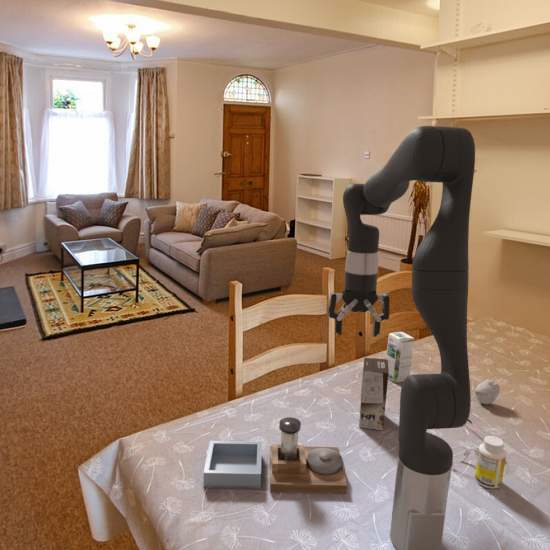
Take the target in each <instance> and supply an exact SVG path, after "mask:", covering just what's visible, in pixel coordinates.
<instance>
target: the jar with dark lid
mask: <svg viewBox="0 0 550 550" xmlns="http://www.w3.org/2000/svg"><path fill="white" fill-rule="evenodd" d="M278 422H279V427H278V429H279V431H280V432H281V434H280V435H281V437H280V445H281V456H280V460H282V461H297V445H298V443H299V441H298V439H299V438H298V437H299V432H300V431H301V427H302V426H301V425H302V424H301V421H300V420H299V419H298V418H295V417H292V416H291V417H288V416H287V417H284V418H281V419H280V420H279V421H278Z"/></svg>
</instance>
